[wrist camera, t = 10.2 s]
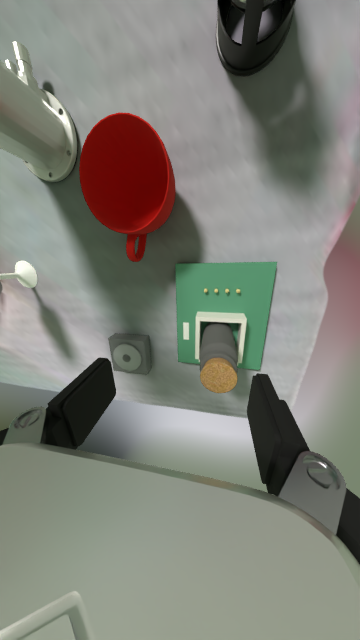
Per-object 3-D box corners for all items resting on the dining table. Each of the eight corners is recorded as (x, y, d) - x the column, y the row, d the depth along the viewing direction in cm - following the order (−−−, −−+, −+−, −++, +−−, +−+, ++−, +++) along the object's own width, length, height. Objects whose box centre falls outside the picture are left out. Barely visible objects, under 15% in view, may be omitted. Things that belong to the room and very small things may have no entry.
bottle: (238, 332, 35) (252, 379, 21) (218, 350, 37) (219, 404, 23) (217, 313, 34) (216, 350, 21) (198, 333, 37) (186, 377, 23)
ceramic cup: (121, 259, 36) (89, 259, 27) (115, 159, 30) (71, 116, 21) (181, 263, 34) (167, 264, 25) (186, 155, 28) (171, 105, 19)
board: (177, 263, 34) (169, 264, 29) (274, 261, 31) (286, 262, 25) (179, 358, 42) (173, 373, 36) (258, 365, 38) (265, 384, 32)
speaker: (115, 333, 43) (106, 339, 39) (148, 335, 41) (142, 342, 38) (120, 363, 46) (112, 372, 42) (151, 367, 44) (145, 376, 41)
